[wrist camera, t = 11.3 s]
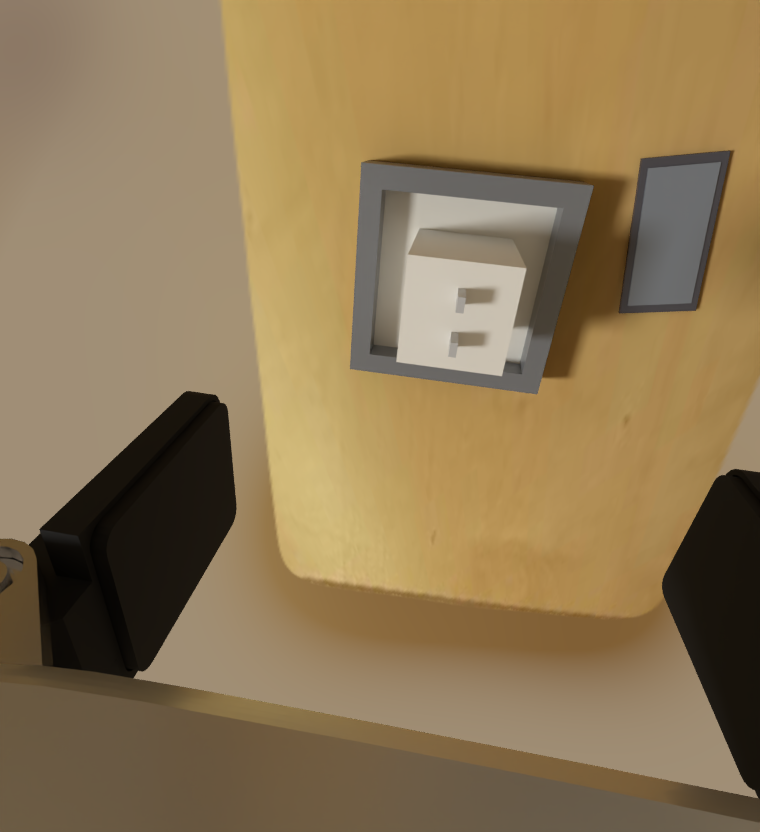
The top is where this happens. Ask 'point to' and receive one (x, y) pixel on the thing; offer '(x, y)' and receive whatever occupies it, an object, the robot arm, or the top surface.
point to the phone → (672, 231)
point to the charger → (460, 301)
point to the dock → (469, 214)
